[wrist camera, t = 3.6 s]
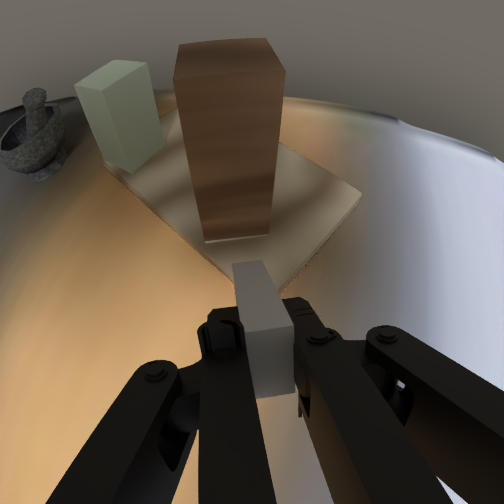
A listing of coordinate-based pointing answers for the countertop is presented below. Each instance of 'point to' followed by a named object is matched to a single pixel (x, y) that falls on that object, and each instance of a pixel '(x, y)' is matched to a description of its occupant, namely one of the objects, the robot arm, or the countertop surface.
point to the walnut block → (231, 132)
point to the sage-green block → (122, 113)
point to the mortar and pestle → (35, 139)
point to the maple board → (282, 212)
